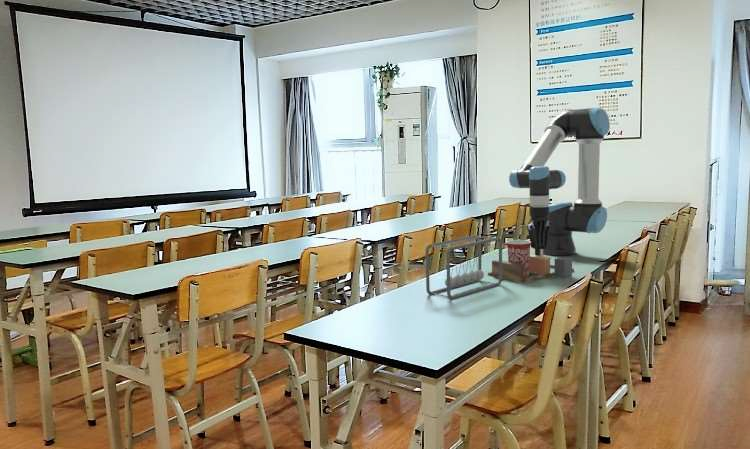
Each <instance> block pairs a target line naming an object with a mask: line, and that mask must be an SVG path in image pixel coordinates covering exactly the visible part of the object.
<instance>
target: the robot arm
mask: <svg viewBox="0 0 750 449" xmlns="http://www.w3.org/2000/svg"><path fill="white" fill-rule="evenodd" d="M610 123H611V122H610V118H609V114H608V113H607V111H606V110H605V109H604V108H601V107H590V108H589V107H588V108H578V109H568V110H565V111H563V112H561V113H559V114H558V115H556V116H555V117H554V118H553V119H552V120H550V122H549V123H548V124H547V125H546V126H545V129H544V134H543V136H541V138H540V140H539V141H538V142H537V144H536V145H535V146H534V148H533V150H532V152H531V153H530V154H529V156H528V157H527V159H525V162H524V163H523V164H522V166H521V167H520V169H514V170H512V171H511V172H510V174H509V176H508V182H509V184H510V186H511V187H512V188H516V189H529V194H528V195H529V207H528V208H529V210H528V211H529V213H528V214H529V216H530V217H531V218H530V223H529V224H526V226H525V227H526V229H527V232H528V238H529V241H530V242H531V244H530V249H531V248H532V249H534V255H538V256H544V257H545V255H547V256H571V255H572V256H573V255H575V254H577V250H576V248H577V247H576V245H575V242H574V239H573V232H575V233H588V234H597V233H598V234H599V233H600V232H601V231H603V229H604V227H605V226H606V223H607V219H608V211H607V208H606V207H604V206H603V201H601V200H600V198H599V193H600V192H599V191H600V190H599V189H600V154H601V150H600V149H601V147H600V146H601V145H600V144H601V143H602V142H603V141H604V138H605V136H606V135H608V134H609V131H610V127H611V126H610ZM569 137H575V141H576V142H577V143H578V167H577V168H578V170H577V171H578V173H577V175H578V176H577V181H578V182H577V199H576V200H574V202H572V201H566V202H558V203H550V190H558V189H561V188H562V187H563V186H564V185H565V184H566V181H567V179H566V174H565V173H564V171H562V170H560V169H551V170H550V167H549V166H547V165H546V164H547V162H548V160H549V159H550V158H551V156H552V155H553V153H554V151H555V150H556V149H557V147H558V145H560V144H561V143H562V142H564V140H565V139H566V138H569ZM545 165H546V166H545Z"/></svg>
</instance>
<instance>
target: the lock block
mask: <svg viewBox="0 0 750 449" xmlns="http://www.w3.org/2000/svg"><path fill="white" fill-rule="evenodd" d="M554 265H555V268H554V272H555V276H554V278H558V279H563V280H566V279H569V278H572V277H573V272H572V269H573V258H567V257H557V258H554Z"/></svg>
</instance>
